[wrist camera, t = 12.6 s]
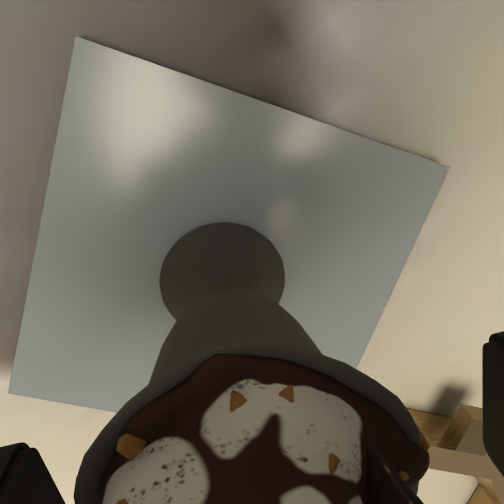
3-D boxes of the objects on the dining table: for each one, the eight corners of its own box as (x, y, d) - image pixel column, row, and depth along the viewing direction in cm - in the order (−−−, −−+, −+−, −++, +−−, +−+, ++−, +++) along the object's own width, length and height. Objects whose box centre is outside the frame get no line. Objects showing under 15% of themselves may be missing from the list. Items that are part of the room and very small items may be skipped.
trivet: (81, 37, 15) (75, 35, 14) (439, 163, 18) (450, 167, 17) (15, 381, 19) (8, 393, 19) (315, 436, 22) (319, 448, 22)
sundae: (102, 303, 18) (-231, 1132, 4) (204, 164, 16) (279, 663, 2) (237, 380, 20) (345, 1104, 6) (337, 262, 18) (802, 844, 4)
